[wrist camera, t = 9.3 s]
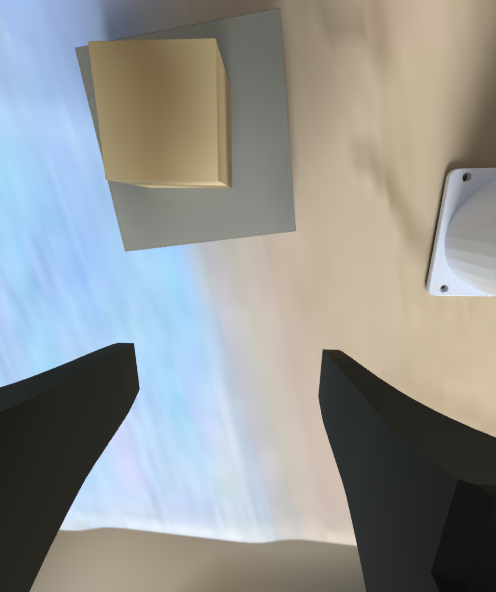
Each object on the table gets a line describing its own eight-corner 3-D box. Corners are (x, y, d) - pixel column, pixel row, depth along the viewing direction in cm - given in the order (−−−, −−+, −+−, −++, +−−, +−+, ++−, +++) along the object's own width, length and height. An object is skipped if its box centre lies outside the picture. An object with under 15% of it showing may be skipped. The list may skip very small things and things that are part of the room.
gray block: (276, 54, 17) (279, 7, 13) (290, 226, 20) (295, 231, 16) (116, 82, 18) (74, 47, 14) (151, 243, 20) (125, 251, 17)
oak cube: (231, 90, 14) (215, 38, 10) (231, 188, 15) (218, 180, 11) (142, 92, 14) (88, 41, 10) (150, 187, 16) (106, 179, 11)
